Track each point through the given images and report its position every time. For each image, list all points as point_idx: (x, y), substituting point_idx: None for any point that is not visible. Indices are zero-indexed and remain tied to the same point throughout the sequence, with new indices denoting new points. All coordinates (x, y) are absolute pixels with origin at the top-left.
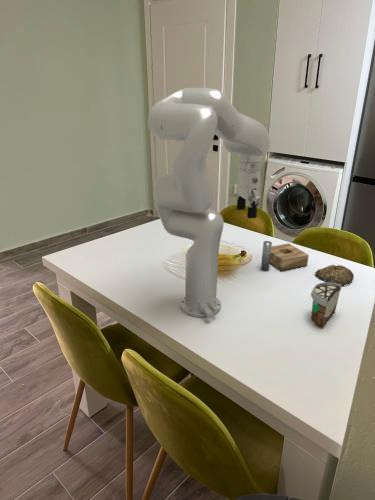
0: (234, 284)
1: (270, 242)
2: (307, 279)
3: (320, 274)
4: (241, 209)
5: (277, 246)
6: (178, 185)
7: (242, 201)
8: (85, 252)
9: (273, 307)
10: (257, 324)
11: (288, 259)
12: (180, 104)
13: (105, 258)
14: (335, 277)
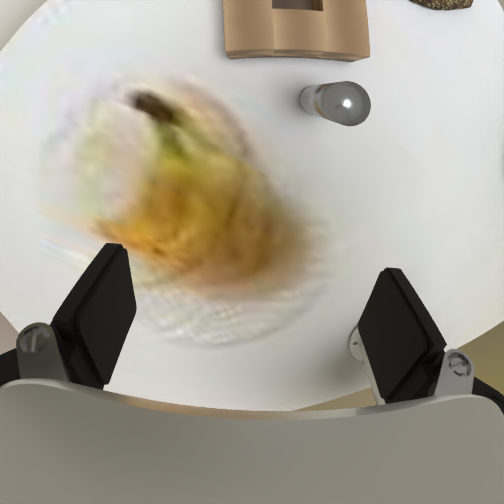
0: (355, 243)
1: (354, 89)
2: (418, 34)
3: (431, 2)
4: (126, 275)
5: None
6: None
7: (100, 339)
8: None
9: (467, 216)
10: (473, 272)
11: (366, 30)
12: None
13: (142, 397)
14: (464, 1)
